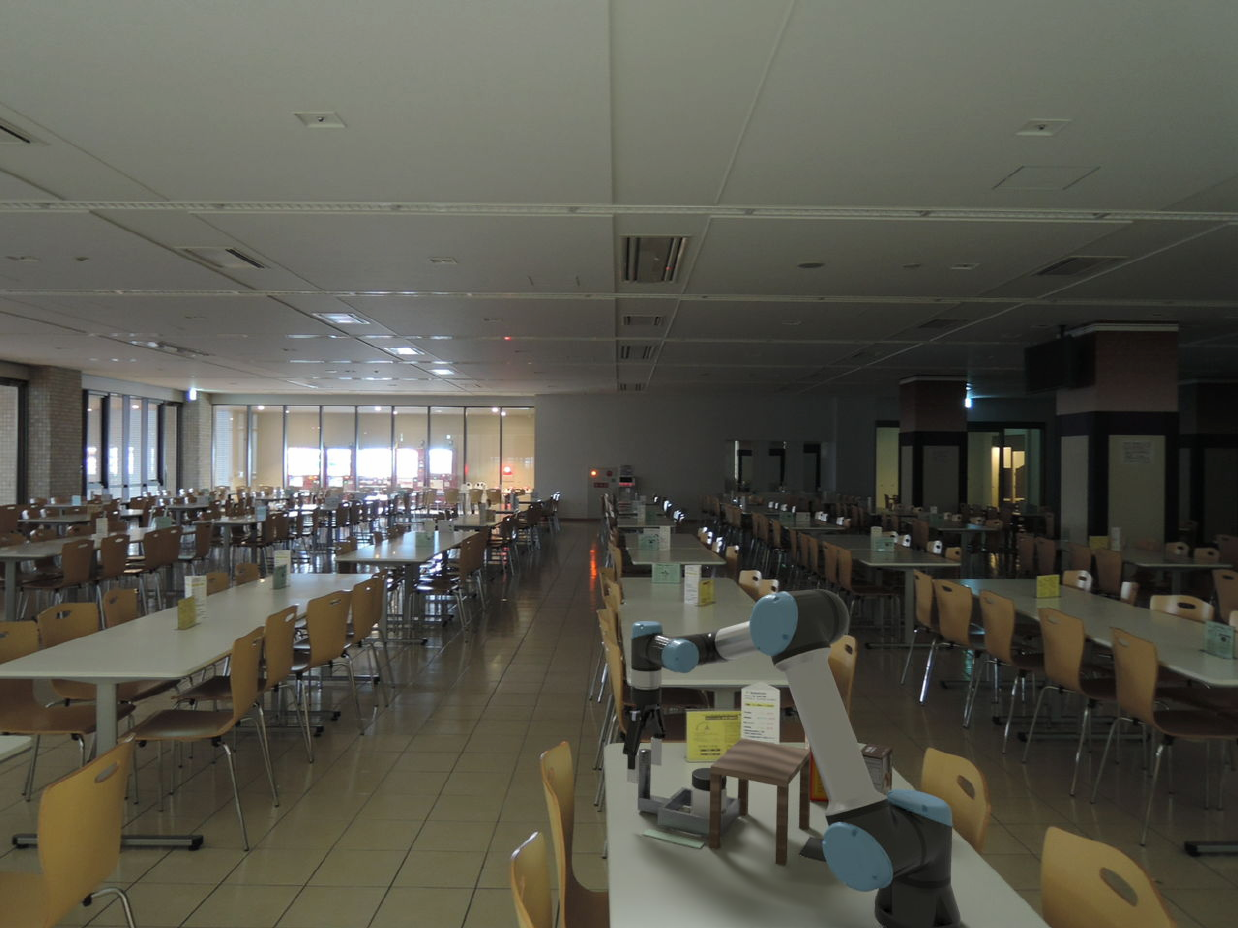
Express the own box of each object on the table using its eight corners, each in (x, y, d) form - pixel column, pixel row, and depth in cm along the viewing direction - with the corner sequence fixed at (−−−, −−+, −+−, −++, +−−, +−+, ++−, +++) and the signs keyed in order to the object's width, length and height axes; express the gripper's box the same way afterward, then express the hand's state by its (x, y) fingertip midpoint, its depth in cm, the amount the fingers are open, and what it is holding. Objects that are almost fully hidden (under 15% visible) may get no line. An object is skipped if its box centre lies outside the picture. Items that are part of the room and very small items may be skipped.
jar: (703, 835, 188) (704, 782, 188) (682, 822, 195) (683, 771, 195) (734, 827, 193) (735, 776, 193) (712, 814, 200) (713, 765, 200)
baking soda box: (803, 786, 219) (805, 726, 219) (828, 787, 219) (830, 727, 219) (808, 800, 210) (810, 737, 210) (834, 802, 209) (836, 738, 209)
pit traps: (862, 870, 173) (862, 868, 173) (798, 855, 179) (798, 854, 179) (870, 850, 182) (870, 849, 182) (809, 837, 188) (809, 836, 188)
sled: (719, 839, 185) (720, 777, 185) (624, 818, 195) (626, 758, 196) (740, 815, 198) (741, 757, 198) (650, 796, 209) (652, 740, 209)
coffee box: (865, 806, 207) (867, 742, 207) (892, 812, 204) (893, 747, 204) (855, 819, 199) (857, 752, 199) (882, 825, 196) (884, 757, 196)
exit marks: (700, 848, 182) (700, 847, 182) (642, 835, 188) (642, 833, 188) (736, 808, 204) (736, 807, 204) (683, 797, 210) (683, 796, 210)
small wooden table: (784, 865, 175) (786, 780, 175) (708, 847, 182) (710, 765, 182) (809, 826, 194) (810, 749, 195) (740, 811, 202) (741, 738, 202)
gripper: (652, 673, 215) (651, 755, 214) (609, 695, 192) (607, 786, 192) (679, 676, 211) (678, 760, 211) (638, 699, 189) (636, 792, 189)
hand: (644, 773), depth 201 cm, fingers open, 13 cm apart
